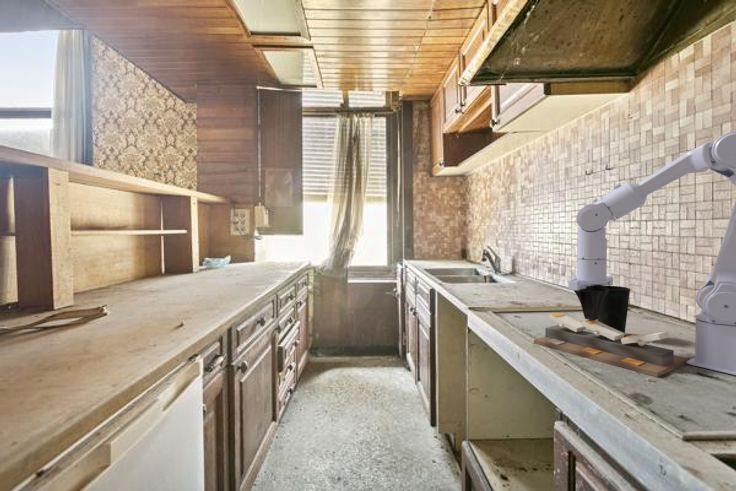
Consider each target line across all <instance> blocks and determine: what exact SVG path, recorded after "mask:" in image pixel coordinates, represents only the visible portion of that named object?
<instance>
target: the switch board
mask: <svg viewBox="0 0 736 491" xmlns="http://www.w3.org/2000/svg"><path fill="white" fill-rule="evenodd" d="M544 329H545V331H544V332H545V335H544V336H543V337H540V338H536V339H533V344H535V345H539V346H543V347H546V348H550V349H554V350H557V351H561V352H565V353H569V354H572V355H576V356H579V357H583V358H587V359H590V360H594V361H597V362H601V363H604V364H608V365H611V364H612V366H615V365H617V366H616V367H619V366H620V367H619V368H622V367H623V369H626V368H627V369H626V370H629V369H630V371H633V370H634V371H633V372H638V373H641V374H645V375H648V376H651V377H655V378H658V377H661V376H663V375H665V374H667V373H669V372H672V371H674V370H676V369H678V368H680V367H682V366H685V365H688V364H687V363H686V361H688V360H690V358H689V357H685V356H684V357H683V356H680V355H675V354H674V353H675V352H674V351H675V350H674V349H671V348H666V347H660V346H656V345H652V344H645V345H642V346H641V345H639V344H638V343H637V342H636V343H627V344H622V341H621V339H622V338H621V339H617V340H612V339H609V338H607V337H605V336H603V335H600V336H596V335H595V334H594V332H592V331H591V332H590V331H587V330H582V331H579V332H575V331H573V330H571V329H569V328H567V327H565V328H561V327H560V326H559V324H557V325H553V326H548V327H545V328H544Z"/></svg>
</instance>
